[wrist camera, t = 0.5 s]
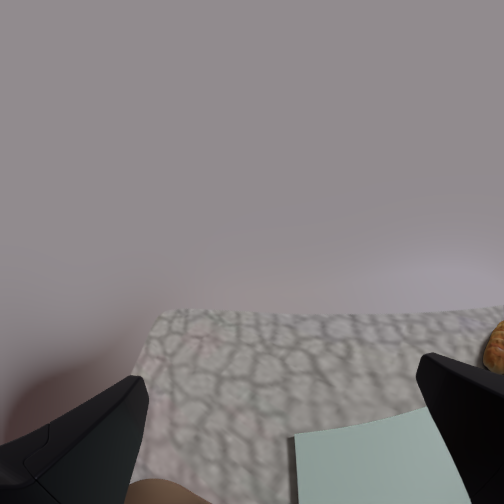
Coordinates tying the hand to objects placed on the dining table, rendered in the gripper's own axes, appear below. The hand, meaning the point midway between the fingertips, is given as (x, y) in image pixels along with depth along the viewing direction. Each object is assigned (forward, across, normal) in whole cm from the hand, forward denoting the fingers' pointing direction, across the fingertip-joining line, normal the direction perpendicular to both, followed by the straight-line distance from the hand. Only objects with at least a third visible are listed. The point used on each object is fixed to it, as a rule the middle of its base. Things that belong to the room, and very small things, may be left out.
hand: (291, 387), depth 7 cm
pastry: (+10, -29, +12) cm, 33 cm away
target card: (+2, -9, +15) cm, 18 cm away
